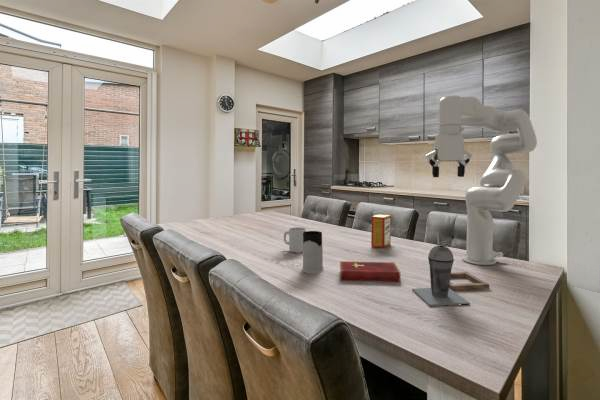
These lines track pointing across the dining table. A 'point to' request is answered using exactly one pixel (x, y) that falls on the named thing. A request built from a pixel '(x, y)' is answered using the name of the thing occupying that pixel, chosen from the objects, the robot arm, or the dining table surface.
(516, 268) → the dining table surface
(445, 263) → the beverage cup
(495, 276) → the dining table surface
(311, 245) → the glass holder
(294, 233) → the mug
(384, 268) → the hardcover book
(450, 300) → the slate mat
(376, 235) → the baking soda box
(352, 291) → the dining table surface
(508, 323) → the dining table surface
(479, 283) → the frame
